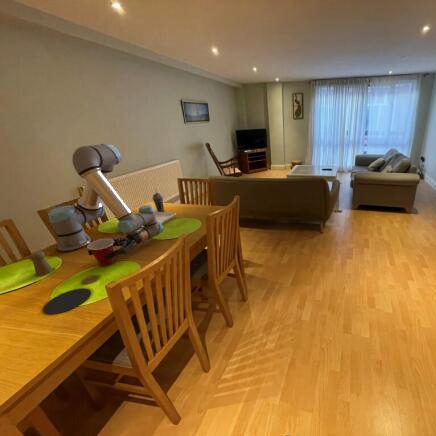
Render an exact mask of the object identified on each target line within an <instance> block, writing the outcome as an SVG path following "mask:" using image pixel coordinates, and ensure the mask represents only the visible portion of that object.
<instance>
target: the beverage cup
mask: <svg viewBox="0 0 436 436" xmlns="http://www.w3.org/2000/svg"><path fill="white" fill-rule="evenodd" d="M154 188H155V193H154V194H153V195H152V201H153V203H154V205H155V208H156V212H165V207H164V197H163V195H162V194H161V193H158V191H157V187H154Z"/></svg>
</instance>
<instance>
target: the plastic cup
mask: <svg viewBox="0 0 436 436" xmlns="http://www.w3.org/2000/svg"><path fill="white" fill-rule="evenodd" d="M113 243H114V241H113V239H112V238H100V239H97V240H93V241H91V243H90V244H88V245H87V246H86V248H87V249H88V250H90V251H91V252H92V253H93V255H92V256H94V258H95V260H96V261H97V262H98V263H99V265H100V266H101V267H107V266H111V265H113V264H114V263H115V257H113V258H111V259H109V260H107V261H105V258H104V255H106V254H108V253H111V252H113V251H114V247H113Z"/></svg>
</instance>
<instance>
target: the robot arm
mask: <svg viewBox="0 0 436 436" xmlns="http://www.w3.org/2000/svg"><path fill="white" fill-rule="evenodd" d="M71 160H72V165H73V169H74V170H75V172H76V173H77V174H78V176H79V177H80V178H81V179H84V180H85V185H84V189H83V193H82V196H81V197H79V198H78V199H77V203H76V205H70V204H69V205H68V204H67V205H63V206H58V207H56V208H54V209H51V210H50V211H49V212H48V213H47V214H48V220H49V222H50V224H51V226H52V228H53V230H54V233H55V235H56V238H57V239H56V246H57V250H58V251H59V252H72V251H76V250H80V249H82V248H85V247H87V246H88V244H90V243H91V242H92V239H91V237H90V236H89V235H88V234H87V233H86V232H85V231H84V229H83V227H82V225H85V224H88V223H90V222H92V221H95V220H98V219H99V218H101V217H103V216H104V214H105V212H106V209H105V206H106V207H107V208H108V209H109V211H110V212H111V213H112V214H113V216H114V217H115V218H116V219H117V221H118V222H117V223H116V224H117V225H116V226H117V229H118V230H119V232H121V233H123V234H126V236H125V237H124V238H122V236H119V237H117V238H113V239H112V240H113V241H114V243H113V248H115V247H118V249H115V250H113V252H111V253H108V254H106V255H104V258H105V261H107V260H109V259H111V258H113V257H114V258H115V257H117V256H119V255H126V254H128V253H129V252H130V251H131V250H132V249H134V248H136V247H137V246H138V245H140V244H142V243H144V242H146V241H148V240H150V239H152V238H154V237H156V236H158V235H160V234H162V233H163V232H164V230H165V229H164V226H163V224H161V223H160V222H157V220H156V216H155V212H156V211H155V209H154V206H153V205H150V204H145V205H141V206H139V207H138V212H137V213H135V214H134V213H133V212H132V210H131V209H130V208H129V207H128V205H127V204H126V202H125V201H124V200H123V198H122V197H121V196H120V195H119V193H118V192H117V191H116V190H115V188H114V187H113V186H112V184H111V183H110V182H109V180H108V176H109V174H110V173H112V172H113V171H114V168H115V165H119V164H120V163H121V162H122V155H121V153H120V151H119V150H118V148H116V146H114V145H112V144H109V143H101V144H92V145H84V146H80V147H78V148H77V149H75V150H74V152H73V154H72V158H71ZM141 226H144V227H143V228H141V229H138V228H139V227H141ZM87 253H88V255H89V256H94V255H93V253H92V252H91V251H90V249H88V250H87Z"/></svg>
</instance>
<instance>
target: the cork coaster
mask: <svg viewBox="0 0 436 436" xmlns="http://www.w3.org/2000/svg"><path fill="white" fill-rule="evenodd" d="M98 279H99V275H90V276H87V277H85V278H84V279H82V281H81V283H82V284H83V285H88V284H91V283H94V282H96V281H97V280H98Z"/></svg>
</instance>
